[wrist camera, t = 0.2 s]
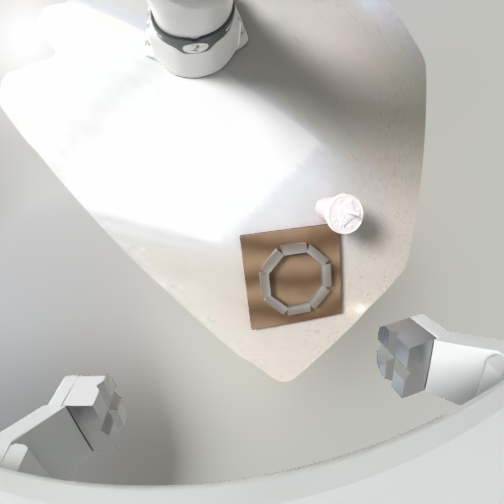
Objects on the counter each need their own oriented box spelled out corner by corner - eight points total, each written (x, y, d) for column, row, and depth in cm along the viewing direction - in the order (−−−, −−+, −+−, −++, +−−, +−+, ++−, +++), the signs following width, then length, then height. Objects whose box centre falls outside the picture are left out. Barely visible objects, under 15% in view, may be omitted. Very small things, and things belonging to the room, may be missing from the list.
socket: (239, 235, 56) (241, 238, 53) (335, 222, 58) (341, 225, 55) (251, 327, 60) (253, 333, 58) (338, 310, 62) (343, 316, 60)
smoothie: (345, 198, 57) (383, 205, 43) (333, 230, 58) (368, 246, 45) (315, 185, 56) (347, 189, 42) (303, 218, 57) (331, 231, 43)
